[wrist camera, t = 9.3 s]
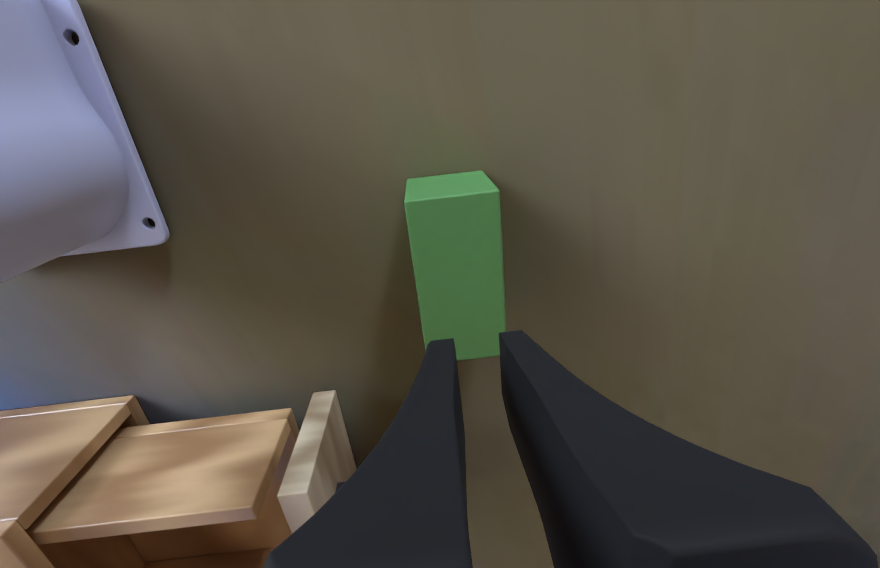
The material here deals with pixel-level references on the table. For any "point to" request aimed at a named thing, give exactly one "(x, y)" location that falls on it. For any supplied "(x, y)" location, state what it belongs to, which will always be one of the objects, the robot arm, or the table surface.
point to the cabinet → (49, 463)
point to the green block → (458, 260)
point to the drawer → (198, 491)
